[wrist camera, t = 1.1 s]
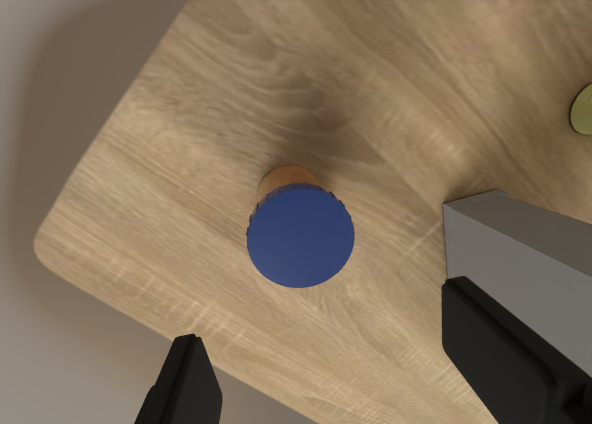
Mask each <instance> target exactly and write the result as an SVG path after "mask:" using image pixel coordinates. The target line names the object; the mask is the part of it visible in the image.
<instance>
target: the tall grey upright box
mask: <svg viewBox="0 0 592 424" xmlns="http://www.w3.org/2000/svg"><path fill="white" fill-rule="evenodd" d="M443 213H444V228H445V243H446V258H447V273H448V279H449V278H454V277H459V276H466V277H467V278H469V279H470V280H471V281H472V282H474V283H475V284H476V285H477V286H479V287H480V288H481V289H482V290H484V291H485V292H486V293H487V294H489V295H490V296H491V297H492V298H494V299H495V300H496V301H497V302H499V303H500V304H501V305H502V306H504V307H505V308H506V309H507V310H509V311H510V312H511V313H512V314H514V315H515V316H516V317H517V318H519V319H520V320H521V321H522V322H524V323H525V324H526V325H527V326H529V327H530V328H531V329H532V330H534V331H535V332H536V333H537V334H539V335H540V336H541V337H542V338H544V339H545V340H546V341H547V342H549V343H550V344H551V345H552V346H554V347H555V348H556V349H557V350H559V351H560V352H561V353H562V354H563V355H565V356H566V357H567V358H568V359H570V360H571V361H572V362H573V363H575V364H576V365H577V366H578V367H580V368H581V369H582V370H583V371H585V372H586V373H587V374H588V375H589V376H590V377H592V224H589V223H586V222H583V221H580V220H577V219H574V218H571V217H568V216H565V215H562V214H559V213H556V212H552V211H549V210H546V209H543V208H540V207H537V206H534V205H531V204H528V203H525V202H522V201H519V200H516V199H513V198H510V197H508V192H507V191H503V190H500V189H497V190H493V191H489V192H486V193H482V194H478V195H474V196H470V197H467V198H463V199H459V200H455V201H451V202H448V203H444V204H443Z"/></svg>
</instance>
